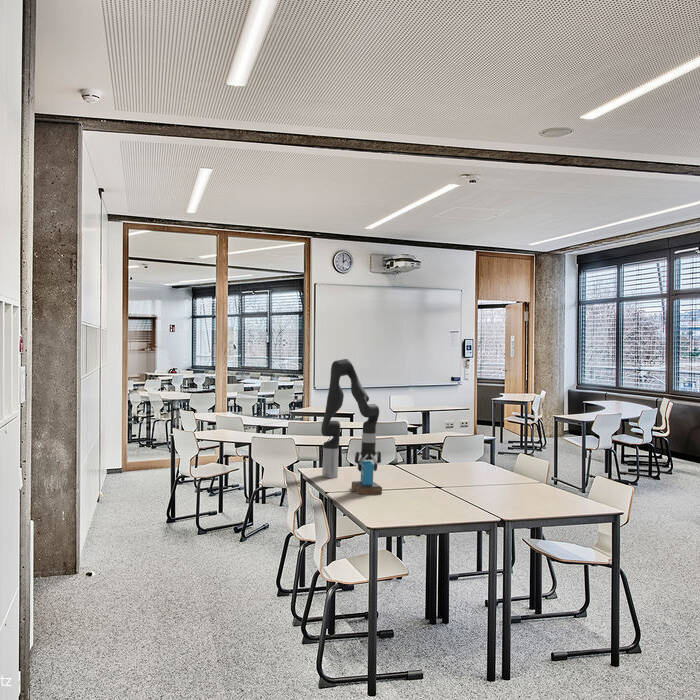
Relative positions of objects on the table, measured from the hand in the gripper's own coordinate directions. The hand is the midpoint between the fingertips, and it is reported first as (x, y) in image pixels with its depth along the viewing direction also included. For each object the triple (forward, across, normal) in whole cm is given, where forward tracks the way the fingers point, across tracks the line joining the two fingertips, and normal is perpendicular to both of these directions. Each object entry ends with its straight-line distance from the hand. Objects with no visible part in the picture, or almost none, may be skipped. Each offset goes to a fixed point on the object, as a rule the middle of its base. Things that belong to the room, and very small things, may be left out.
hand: (367, 470), depth 345 cm
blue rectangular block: (+7, 0, 0) cm, 7 cm away
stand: (+11, 0, 0) cm, 11 cm away
